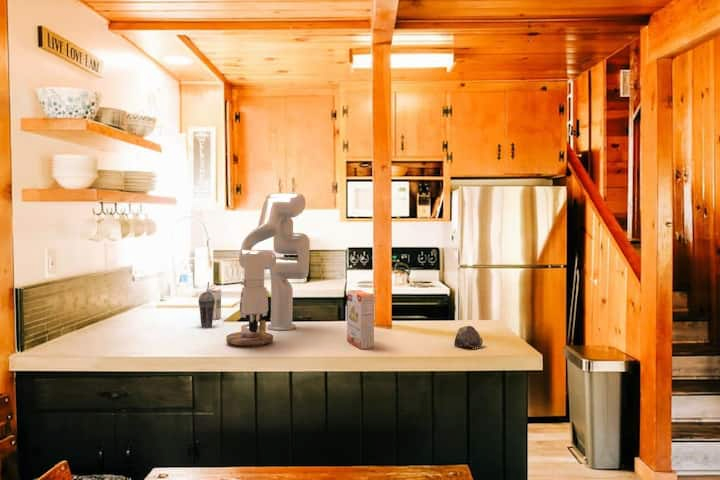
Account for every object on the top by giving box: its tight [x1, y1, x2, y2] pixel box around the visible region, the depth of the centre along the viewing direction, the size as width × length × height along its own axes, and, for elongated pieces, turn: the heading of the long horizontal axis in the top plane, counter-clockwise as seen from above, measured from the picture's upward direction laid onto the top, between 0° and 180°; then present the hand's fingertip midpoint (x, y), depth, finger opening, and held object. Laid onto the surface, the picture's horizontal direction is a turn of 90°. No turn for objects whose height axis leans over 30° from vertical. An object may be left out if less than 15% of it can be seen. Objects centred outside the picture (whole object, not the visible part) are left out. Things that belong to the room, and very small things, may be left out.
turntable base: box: [238, 344, 263, 347], centre depth 229 cm, size 11×11×1 cm
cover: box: [240, 323, 260, 338], centre depth 228 cm, size 7×7×5 cm
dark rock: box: [454, 325, 484, 349], centre depth 230 cm, size 11×9×10 cm
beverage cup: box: [198, 281, 215, 329], centre depth 258 cm, size 7×7×20 cm
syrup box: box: [205, 287, 222, 321], centre depth 278 cm, size 6×6×14 cm
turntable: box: [226, 319, 274, 346], centre depth 229 cm, size 18×18×8 cm
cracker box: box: [346, 289, 375, 350], centre depth 228 cm, size 14×6×21 cm, turn 23°
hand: (253, 331), depth 222 cm, fingers closed
